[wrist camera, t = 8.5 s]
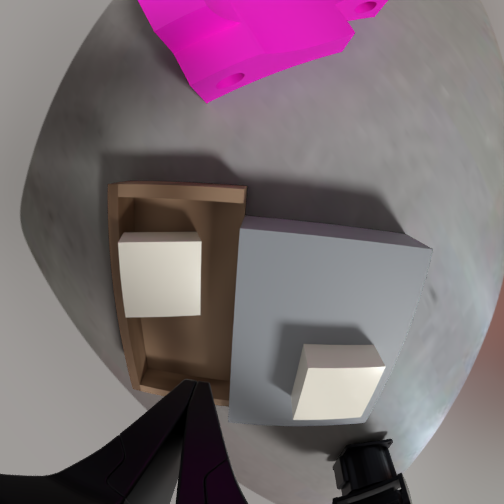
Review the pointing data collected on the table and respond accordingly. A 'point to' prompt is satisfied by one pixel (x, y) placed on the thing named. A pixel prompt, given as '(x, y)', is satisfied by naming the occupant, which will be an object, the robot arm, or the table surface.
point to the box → (212, 283)
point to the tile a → (160, 273)
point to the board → (315, 307)
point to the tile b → (335, 381)
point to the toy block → (251, 36)
